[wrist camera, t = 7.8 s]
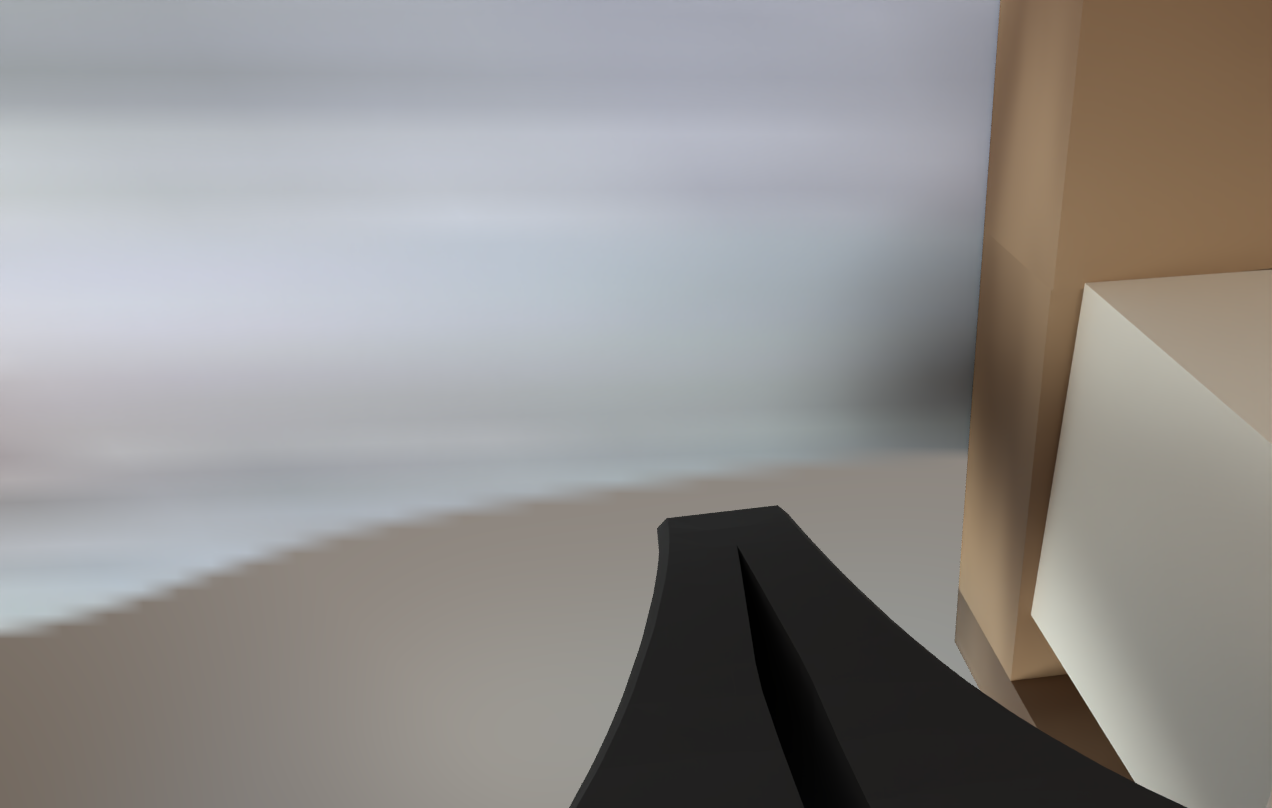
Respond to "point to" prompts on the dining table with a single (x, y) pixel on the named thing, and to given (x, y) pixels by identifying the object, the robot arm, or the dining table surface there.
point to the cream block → (1169, 532)
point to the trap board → (1091, 268)
